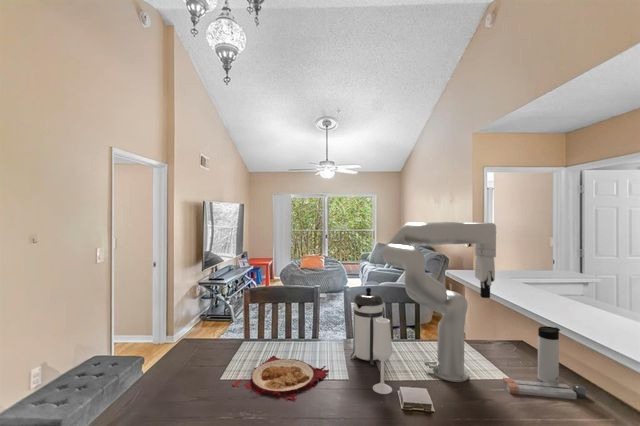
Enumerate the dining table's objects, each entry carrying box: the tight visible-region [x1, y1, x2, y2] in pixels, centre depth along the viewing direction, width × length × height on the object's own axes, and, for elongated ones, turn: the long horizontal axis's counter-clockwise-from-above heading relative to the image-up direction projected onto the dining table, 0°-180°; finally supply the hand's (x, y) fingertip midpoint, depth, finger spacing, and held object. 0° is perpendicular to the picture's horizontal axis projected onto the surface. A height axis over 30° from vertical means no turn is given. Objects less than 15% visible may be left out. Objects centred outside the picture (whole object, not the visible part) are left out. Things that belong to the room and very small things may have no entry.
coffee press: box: [350, 287, 386, 367], centre depth 138 cm, size 17×16×30 cm
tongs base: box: [502, 377, 587, 399], centre depth 113 cm, size 25×5×3 cm, turn 80°
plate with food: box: [232, 355, 330, 403], centre depth 120 cm, size 25×26×4 cm
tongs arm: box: [505, 382, 577, 400], centre depth 111 cm, size 20×3×2 cm, turn 80°
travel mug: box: [537, 325, 561, 384], centre depth 118 cm, size 6×7×20 cm
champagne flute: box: [372, 317, 393, 395], centre depth 114 cm, size 7×7×24 cm
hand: (485, 297), depth 133 cm, fingers closed
